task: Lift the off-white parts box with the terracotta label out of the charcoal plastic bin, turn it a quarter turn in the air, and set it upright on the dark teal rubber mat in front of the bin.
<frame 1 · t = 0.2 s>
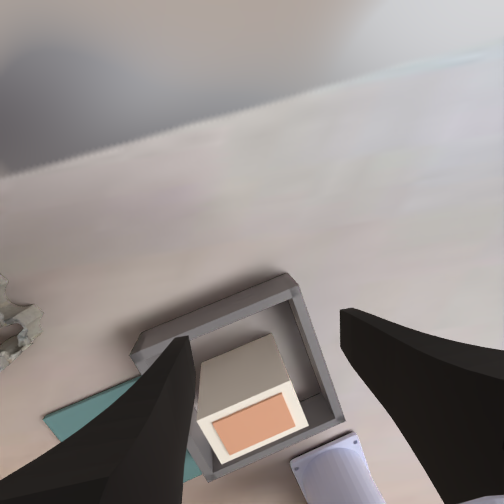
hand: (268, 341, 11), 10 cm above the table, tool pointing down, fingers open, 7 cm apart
parts box: (249, 391, 20), in the bin
bin: (245, 367, 23), on the table
mat: (130, 445, 23), on the table
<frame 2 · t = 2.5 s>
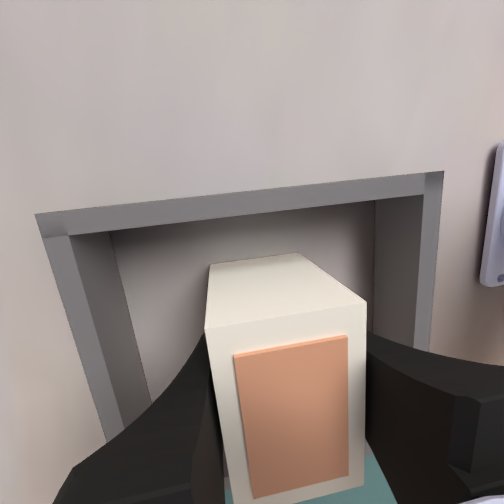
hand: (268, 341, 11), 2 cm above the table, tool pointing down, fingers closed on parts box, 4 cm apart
parts box: (274, 357, 10), in the bin, touching gripper
bin: (261, 320, 13), on the table
mat: (322, 484, 17), on the table
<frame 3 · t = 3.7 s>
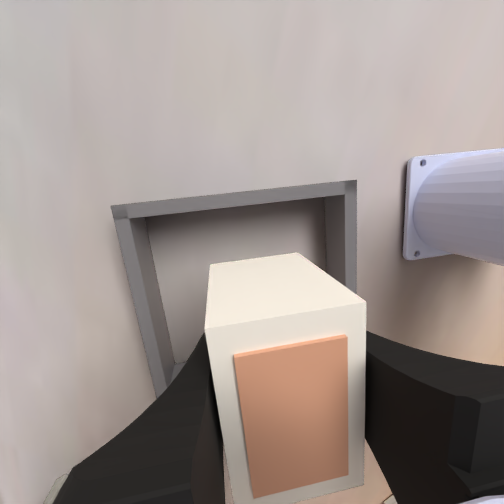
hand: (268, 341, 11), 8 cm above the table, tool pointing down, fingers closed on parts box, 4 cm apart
parts box: (274, 356, 10), point 9 cm above the table, touching gripper
bin: (246, 282, 19), on the table
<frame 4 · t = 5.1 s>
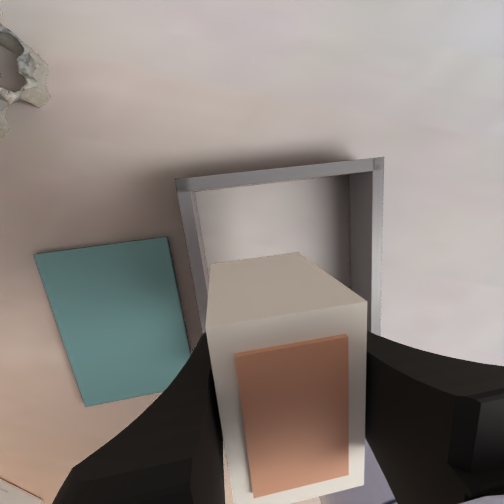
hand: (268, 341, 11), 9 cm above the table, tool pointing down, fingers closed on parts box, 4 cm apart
parts box: (274, 356, 10), point 10 cm above the table, touching gripper
bin: (281, 264, 20), on the table
mat: (125, 324, 19), on the table
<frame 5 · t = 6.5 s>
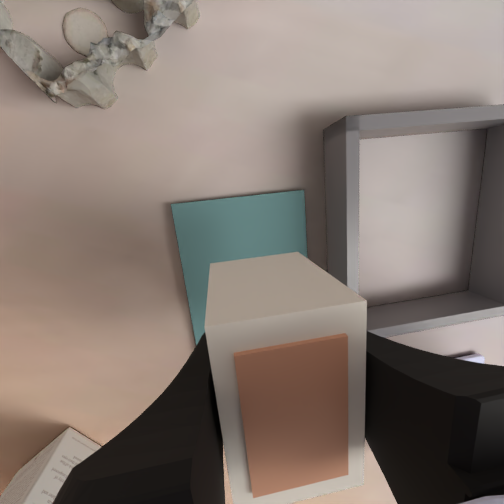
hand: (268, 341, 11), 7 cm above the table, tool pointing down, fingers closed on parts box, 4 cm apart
parts box: (274, 356, 10), point 8 cm above the table, touching gripper
bin: (409, 224, 19), on the table
small box: (88, 467, 20), on the table
egg carton: (107, 13, 14), on the table
mat: (248, 285, 18), on the table
when the fingers open (4 cm above the table, at t = 7.7 s): parts box drops 1 cm, resting on mat.
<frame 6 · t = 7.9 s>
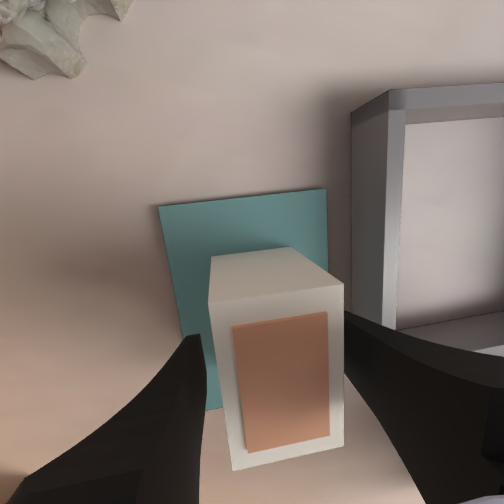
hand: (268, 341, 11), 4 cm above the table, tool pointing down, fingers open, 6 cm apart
parts box: (267, 337, 12), on the mat
bin: (451, 231, 16), on the table
mat: (256, 305, 15), on the table
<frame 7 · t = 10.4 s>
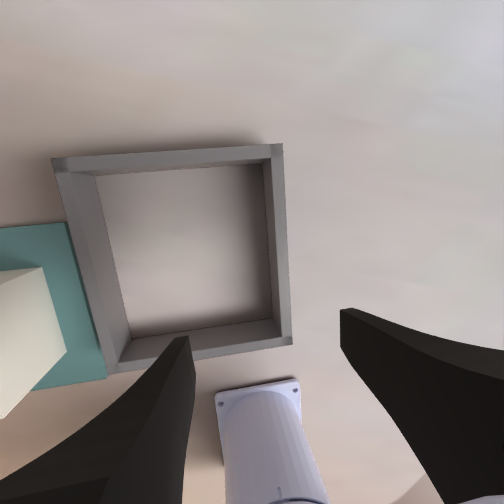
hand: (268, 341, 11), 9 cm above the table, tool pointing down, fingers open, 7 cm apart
bin: (194, 255, 19), on the table
mat: (26, 313, 19), on the table
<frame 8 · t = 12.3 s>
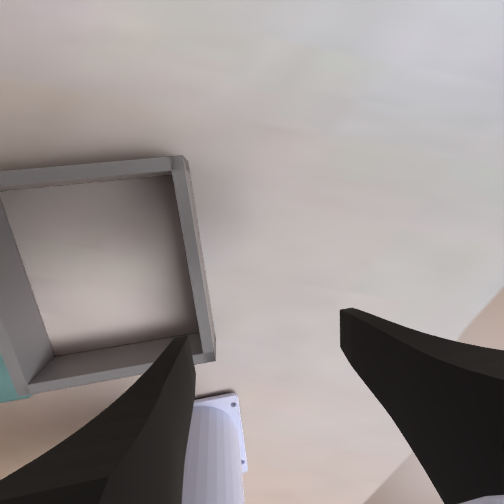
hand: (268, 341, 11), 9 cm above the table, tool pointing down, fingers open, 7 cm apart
bin: (113, 269, 19), on the table
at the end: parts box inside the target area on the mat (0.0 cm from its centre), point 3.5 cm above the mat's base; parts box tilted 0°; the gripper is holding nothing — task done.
